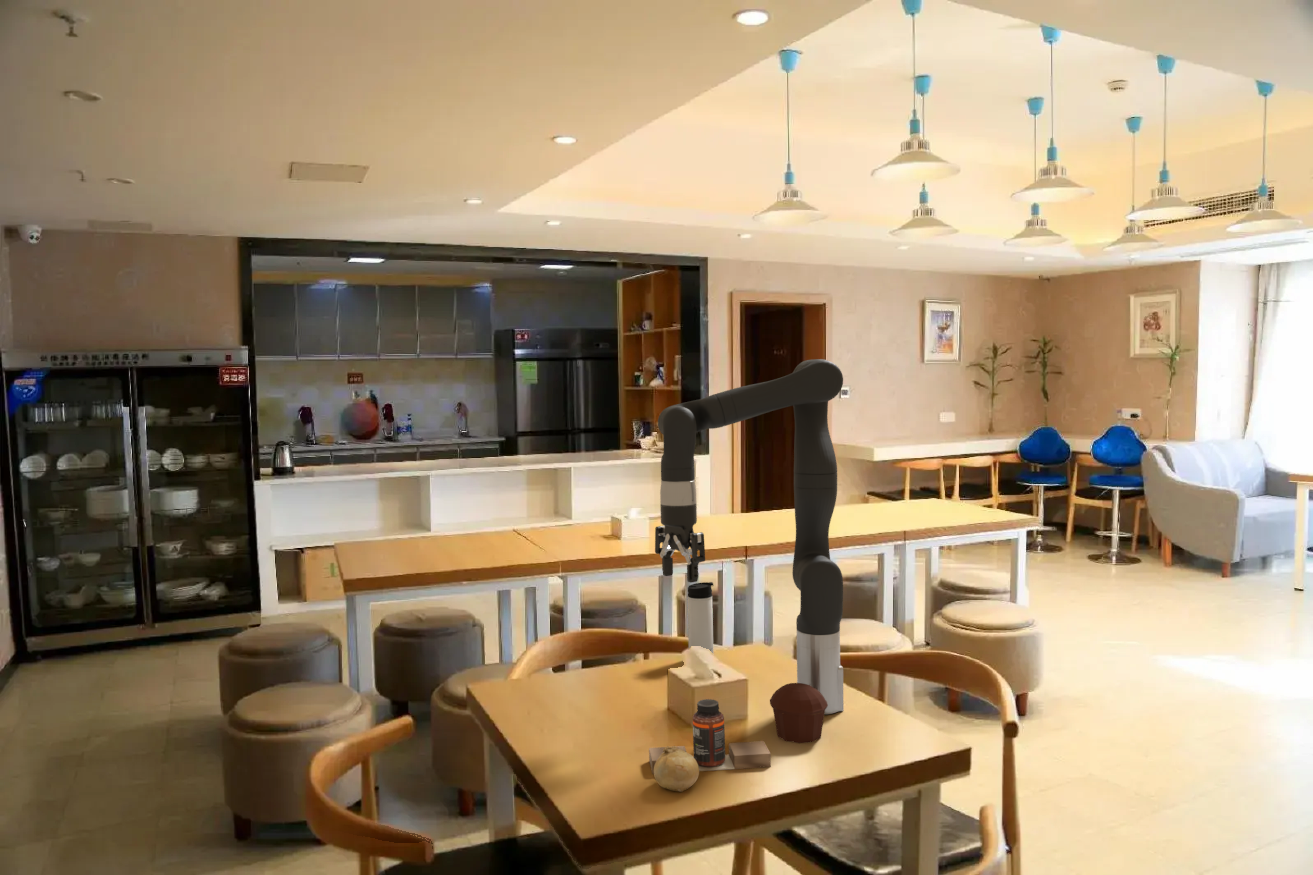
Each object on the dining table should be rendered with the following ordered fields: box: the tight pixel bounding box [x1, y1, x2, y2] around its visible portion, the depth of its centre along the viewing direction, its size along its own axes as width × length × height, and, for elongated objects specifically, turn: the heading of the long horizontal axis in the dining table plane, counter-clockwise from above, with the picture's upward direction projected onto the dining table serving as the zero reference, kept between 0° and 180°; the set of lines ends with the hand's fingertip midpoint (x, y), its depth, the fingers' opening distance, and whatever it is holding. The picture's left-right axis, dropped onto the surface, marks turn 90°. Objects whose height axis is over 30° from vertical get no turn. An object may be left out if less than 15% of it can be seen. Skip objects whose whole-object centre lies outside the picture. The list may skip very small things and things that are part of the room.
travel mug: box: [687, 581, 714, 654], centre depth 239 cm, size 6×7×20 cm
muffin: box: [769, 682, 828, 744], centre depth 188 cm, size 12×11×10 cm
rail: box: [648, 740, 772, 775], centre depth 175 cm, size 22×6×2 cm, turn 96°
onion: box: [653, 745, 700, 793], centre depth 166 cm, size 8×8×7 cm
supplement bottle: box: [692, 698, 726, 767], centre depth 175 cm, size 6×6×11 cm
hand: (679, 578), depth 197 cm, fingers open, 8 cm apart
